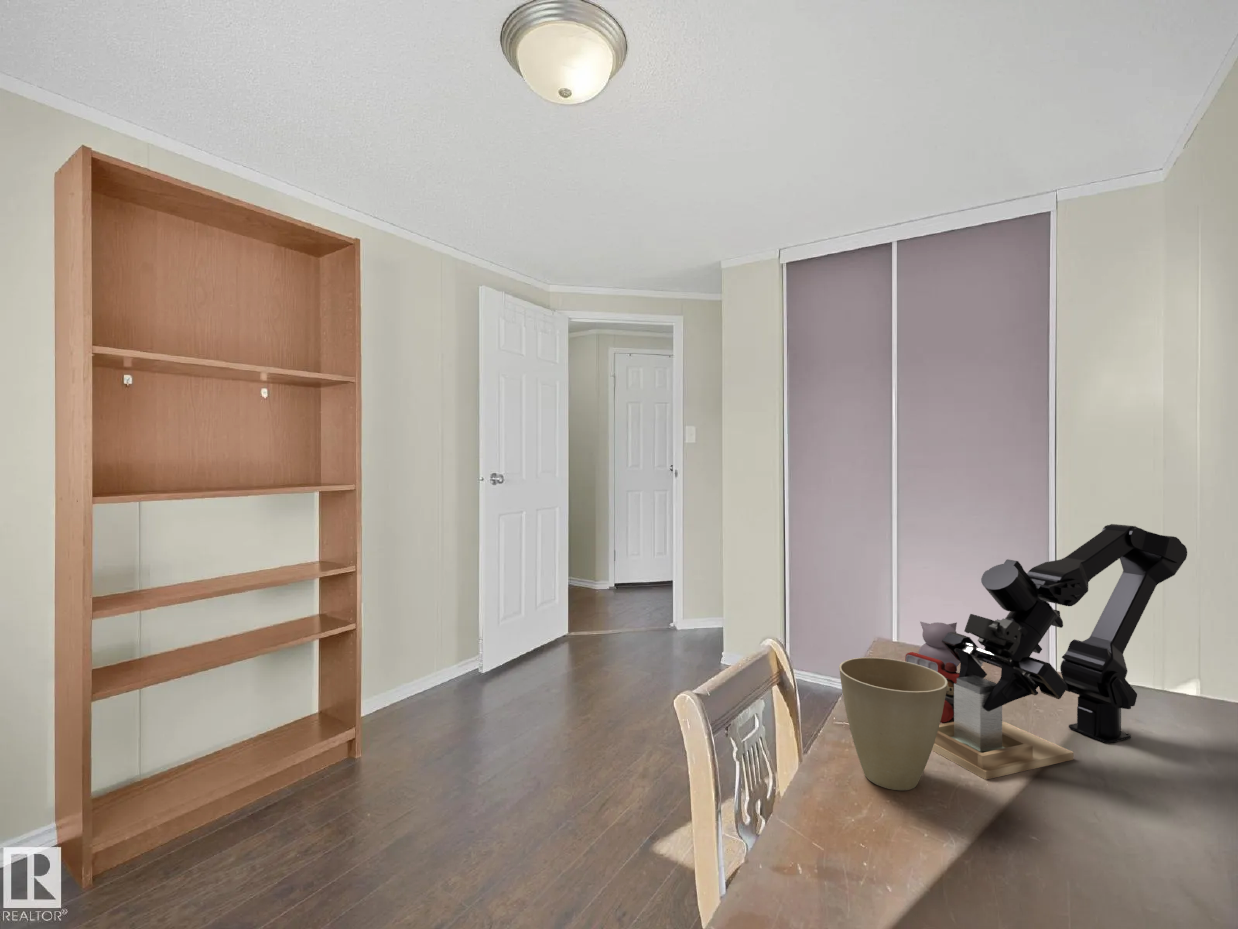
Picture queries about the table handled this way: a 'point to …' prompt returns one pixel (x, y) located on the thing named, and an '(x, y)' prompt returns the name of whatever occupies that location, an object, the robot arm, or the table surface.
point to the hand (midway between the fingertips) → (971, 703)
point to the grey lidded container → (976, 714)
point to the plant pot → (892, 717)
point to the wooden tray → (1000, 752)
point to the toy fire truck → (945, 670)
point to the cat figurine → (937, 641)
